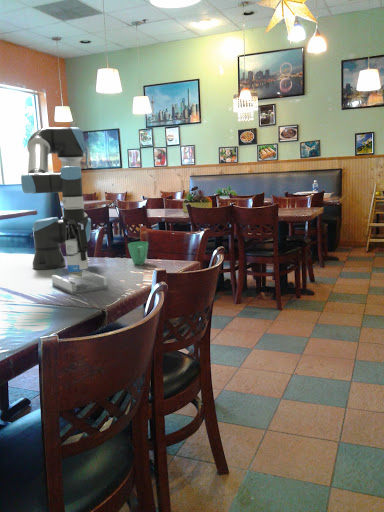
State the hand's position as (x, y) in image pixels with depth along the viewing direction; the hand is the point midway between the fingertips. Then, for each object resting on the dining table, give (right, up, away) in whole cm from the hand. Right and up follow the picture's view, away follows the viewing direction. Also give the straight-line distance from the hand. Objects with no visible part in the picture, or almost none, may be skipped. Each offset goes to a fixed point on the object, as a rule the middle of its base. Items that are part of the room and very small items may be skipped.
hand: (78, 267), depth 171 cm
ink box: (0, -1, 0) cm, 1 cm away
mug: (+19, 0, +42) cm, 46 cm away
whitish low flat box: (0, -7, +1) cm, 8 cm away
